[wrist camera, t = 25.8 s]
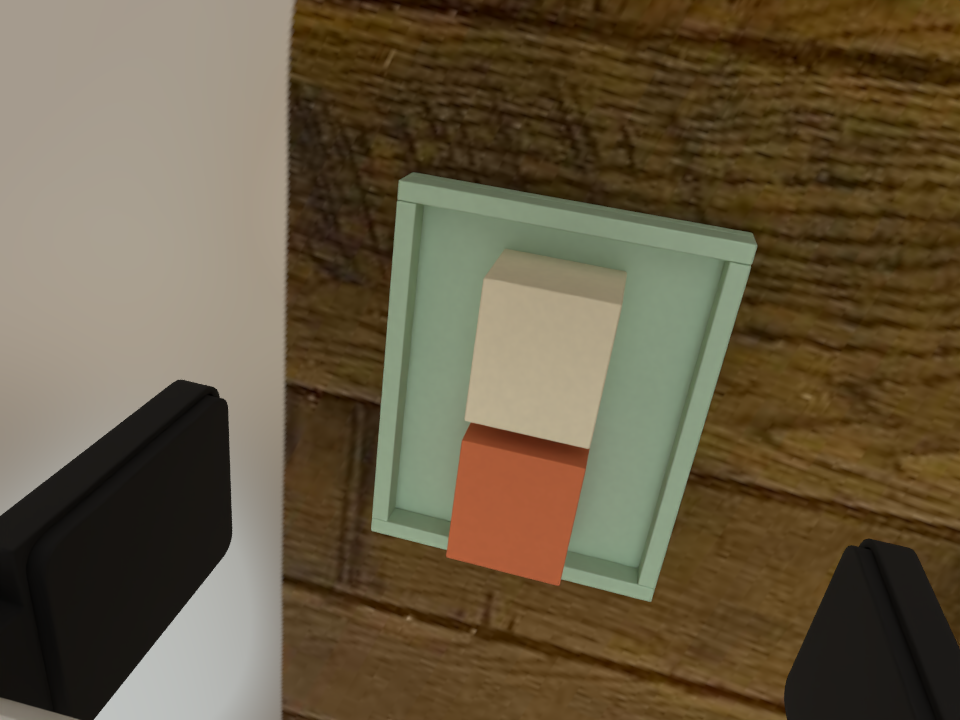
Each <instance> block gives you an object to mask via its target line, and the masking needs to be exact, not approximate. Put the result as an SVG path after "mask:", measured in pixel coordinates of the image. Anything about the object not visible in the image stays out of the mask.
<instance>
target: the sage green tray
mask: <svg viewBox="0 0 960 720" xmlns="http://www.w3.org/2000/svg"><path fill="white" fill-rule="evenodd" d="M397 198H398V201H397V209H396V221H395V234H394V247H393V259H392V272H391V285H390V297H389V310H388V323H387V336H386V348H385V361H384V374H383V386H382V399H381V412H380V424H379V437H378V450H377V462H376V475H375V488H374V500H373V513H372V517H373V518H372V526H371V530H372V531H375V532H379V533H382V534H386V535H390V536H394V537H398V538H402V539H406V540H410V541H414V542H418V543H422V544H426V545H430V546H433V547H437V548H441V549H445V550H447V545H448V538H449V531H450V523H451V516H452V509H453V501H454V494H455V487H456V479H457V472H458V465H459V457H460V450H461V443H462V439H463V437H464V435H465V433H466V431H467V429H468V427H469V425H470V423H471V422H468V421H465V419H464V417H465V410H466V403H467V395H468V388H469V381H470V373H471V366H472V359H473V351H474V344H475V336H476V329H477V322H478V314H479V307H480V300H481V292H482V285H483V279H484V277H485V276H486V274H487V273H488V272H489V270H490V269H491V267H492V266H493V265H494V263H495V262H496V260H497V259H498V258H499V256H500V255H501V253H502V252H503V251H504V249H511V250H516V251H521V252H527V253H532V254H537V255H542V256H548V257H553V258H558V259H563V260H569V261H574V262H579V263H584V264H589V265H595V266H600V267H605V268H610V269H616V270H621V271H626V272H627V278H626V284H625V291H624V297H623V304H622V309H621V313H620V318H619V322H618V327H617V331H616V336H615V340H614V344H613V349H612V353H611V358H610V362H609V367H608V371H607V375H606V380H605V384H604V389H603V393H602V398H601V402H600V406H599V411H598V415H597V420H596V424H595V429H594V433H593V437H592V442H591V446H590V449H589V455H588V460H587V466H586V471H585V476H584V480H583V484H582V489H581V493H580V498H579V502H578V507H577V511H576V515H575V520H574V524H573V529H572V533H571V538H570V542H569V546H568V551H567V555H566V560H565V564H564V568H563V573H562V577H561V579H563V580H567V581H571V582H574V583H578V584H582V585H586V586H590V587H594V588H598V589H602V590H606V591H610V592H614V593H618V594H621V595H625V596H629V597H633V598H637V599H641V600H645V601H649V602H651V600H652V597H653V594H654V590H655V587H656V583H657V580H658V577H659V573H660V570H661V567H662V563H663V560H664V557H665V553H666V550H667V547H668V543H669V540H670V537H671V533H672V530H673V527H674V523H675V520H676V517H677V513H678V510H679V507H680V503H681V500H682V497H683V493H684V490H685V487H686V483H687V480H688V477H689V473H690V470H691V467H692V463H693V460H694V457H695V453H696V450H697V447H698V443H699V440H700V436H701V433H702V430H703V426H704V423H705V420H706V416H707V413H708V410H709V406H710V403H711V400H712V396H713V393H714V390H715V386H716V383H717V380H718V376H719V373H720V370H721V366H722V363H723V360H724V356H725V353H726V350H727V346H728V343H729V340H730V336H731V333H732V330H733V326H734V323H735V320H736V316H737V313H738V310H739V306H740V303H741V300H742V296H743V293H744V290H745V286H746V283H747V280H748V276H749V273H750V270H751V264H752V263H753V259H754V256H755V253H756V249H757V244H756V241H755V239H754V236H753V233H750V232H745V231H739V230H733V229H728V228H722V227H717V226H711V225H705V224H700V223H694V222H689V221H683V220H678V219H672V218H666V217H661V216H655V215H650V214H644V213H638V212H633V211H627V210H622V209H616V208H610V207H605V206H599V205H594V204H588V203H583V202H577V201H571V200H566V199H560V198H555V197H549V196H543V195H538V194H532V193H527V192H521V191H516V190H510V189H504V188H499V187H493V186H488V185H482V184H476V183H471V182H465V181H460V180H454V179H448V178H443V177H437V176H432V175H426V174H421V173H415V172H412V173H411V174H409V175H407V176H406V177H404V178H402V179H401V180H399V185H398V197H397Z"/></svg>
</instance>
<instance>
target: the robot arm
mask: <svg viewBox="0 0 960 720" xmlns="http://www.w3.org/2000/svg"><path fill="white" fill-rule="evenodd" d="M228 424H229V422H228V405H227V402H226V400H224V399H222V398H220V397H219V393H218V391H217V389H215V388H214V387H211V386H207V385H202V384H198V383H194V382H189V381H185V380H177V381H175V382H173V383H172V384H171V385H169V386H168V387H167V388H165V389H164V390H163V391H162V392H160V393H159V394H158V395H156V396H155V397H154V398H152V399H151V400H150V401H149V402H147V403H146V404H145V405H143V406H142V407H141V408H140V409H138V410H137V411H136V412H134V413H133V414H132V415H130V416H129V417H128V418H126V419H125V420H124V421H123V422H121V423H120V424H119V425H117V426H116V427H115V428H114V429H112V430H111V431H110V432H108V433H107V434H106V435H104V436H103V437H102V438H101V439H99V440H98V441H97V442H95V443H94V444H93V445H92V446H90V447H89V448H88V449H86V450H85V451H84V452H82V453H81V454H80V455H79V456H77V457H76V458H75V459H73V460H72V461H71V462H70V463H68V464H67V465H66V466H64V467H63V468H62V469H60V470H59V471H58V472H57V473H55V474H54V475H53V476H51V477H50V478H49V479H48V480H46V481H45V482H44V483H42V484H41V485H40V486H38V487H37V488H36V489H35V490H33V491H32V492H31V493H29V494H28V495H27V496H25V497H24V498H23V499H22V500H20V501H19V502H18V503H16V504H15V505H14V506H13V507H11V508H10V509H9V510H7V511H6V512H5V513H3V514H2V515H1V516H0V720H94V719H95V717H96V716H97V715H98V714H99V712H100V711H101V710H102V709H103V707H104V706H105V705H106V704H107V702H108V701H109V700H110V699H111V697H112V696H113V695H114V693H115V692H116V691H117V690H118V689H119V687H120V686H121V685H122V684H123V682H124V681H125V680H126V679H127V677H128V676H129V675H130V673H131V672H132V671H133V670H134V668H135V667H136V666H137V665H138V663H139V662H140V661H141V660H142V658H143V657H144V656H145V655H146V653H147V652H148V651H149V650H150V648H151V647H152V646H153V645H154V643H155V642H156V641H157V640H158V638H159V637H160V636H161V635H162V633H163V632H164V631H165V630H166V628H167V627H168V626H169V625H170V623H171V622H172V621H173V620H174V618H175V617H176V616H177V614H178V613H179V612H180V611H181V609H182V608H183V607H184V606H185V604H186V603H187V602H188V601H189V599H190V598H191V597H192V595H193V594H194V593H195V592H196V590H197V589H198V588H199V587H200V585H201V584H202V583H203V582H204V581H205V579H206V578H207V577H208V576H209V574H210V573H211V572H212V571H213V569H214V568H215V567H216V565H217V564H218V563H219V562H220V560H221V559H222V558H223V557H224V555H225V554H226V552H227V550H228V548H229V545H230V542H231V538H232V511H231V481H230V455H229V426H228ZM784 702H785V710H786V716H787V720H960V648H959V646H958V644H957V642H956V640H955V638H954V635H953V633H952V631H951V629H950V627H949V624H948V622H947V620H946V618H945V616H944V614H943V611H942V609H941V607H940V605H939V603H938V600H937V598H936V596H935V594H934V592H933V589H932V587H931V585H930V583H929V581H928V579H927V576H926V574H925V572H924V570H923V568H922V565H921V563H920V561H919V559H918V557H917V555H916V553H915V552H914V550H912V549H910V548H907V547H903V546H898V545H894V544H890V543H885V542H881V541H877V540H872V539H865V540H864V541H863V542H862V543H861V544H860V546H859V547H856V546H852V545H851V546H848V547H847V548H846V549H845V551H844V553H843V555H842V557H841V559H840V561H839V564H838V566H837V568H836V570H835V573H834V575H833V577H832V579H831V582H830V584H829V586H828V588H827V590H826V593H825V595H824V597H823V599H822V602H821V604H820V606H819V608H818V610H817V613H816V615H815V617H814V619H813V622H812V624H811V626H810V628H809V630H808V633H807V635H806V637H805V639H804V642H803V644H802V646H801V648H800V651H799V653H798V655H797V657H796V659H795V662H794V664H793V666H792V668H791V671H790V673H789V675H788V678H787V681H786V685H785V692H784Z"/></svg>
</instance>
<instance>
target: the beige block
mask: <svg viewBox="0 0 960 720" xmlns="http://www.w3.org/2000/svg"><path fill="white" fill-rule="evenodd" d="M626 278H627V272H626V271H621V270H616V269H610V268H605V267H600V266H595V265H589V264H584V263H579V262H574V261H569V260H563V259H558V258H553V257H548V256H542V255H537V254H532V253H527V252H521V251H516V250H511V249H504V251H503V252H502V253H501V255H500V256H499V258H498V259H497V260H496V262H495V263H494V265H493V266H492V267H491V269H490V270H489V272H488V273H487V274H486V276H485V277H484V279H483V285H482V292H481V300H480V307H479V314H478V322H477V329H476V336H475V344H474V351H473V359H472V366H471V373H470V381H469V388H468V395H467V403H466V410H465V417H464V419H465V421H468V422H472V423H476V424H481V425H485V426H490V427H494V428H498V429H503V430H507V431H511V432H516V433H520V434H525V435H529V436H533V437H538V438H542V439H547V440H551V441H555V442H560V443H564V444H568V445H573V446H577V447H582V448H586V449H589V448H590V446H591V442H592V437H593V433H594V429H595V424H596V420H597V415H598V411H599V406H600V402H601V398H602V393H603V389H604V384H605V380H606V375H607V371H608V367H609V362H610V358H611V353H612V349H613V344H614V340H615V336H616V331H617V327H618V322H619V318H620V313H621V309H622V304H623V297H624V291H625V284H626Z"/></svg>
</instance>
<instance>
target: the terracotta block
mask: <svg viewBox="0 0 960 720" xmlns="http://www.w3.org/2000/svg"><path fill="white" fill-rule="evenodd" d="M589 449H590V448H589ZM589 449H586V448H582V447H577V446H573V445H568V444H564V443H560V442H555V441H551V440H547V439H542V438H538V437H533V436H529V435H525V434H520V433H516V432H511V431H507V430H503V429H498V428H494V427H490V426H485V425H481V424H476V423H472V422H471V423H470V425H469V427H468V429H467V431H466V433H465V435H464V437H463V439H462V443H461V450H460V457H459V465H458V472H457V479H456V487H455V494H454V501H453V509H452V516H451V523H450V531H449V538H448V545H447V553H446V557H448V558H452V559H455V560H459V561H463V562H467V563H471V564H475V565H479V566H483V567H487V568H490V569H494V570H498V571H502V572H506V573H510V574H514V575H518V576H522V577H525V578H529V579H533V580H537V581H541V582H545V583H549V584H553V585H557V586H559V585H560V582H561V577H562V573H563V568H564V564H565V560H566V555H567V551H568V546H569V542H570V538H571V533H572V529H573V524H574V520H575V515H576V511H577V507H578V502H579V498H580V493H581V489H582V484H583V480H584V476H585V471H586V466H587V460H588V455H589Z"/></svg>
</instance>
